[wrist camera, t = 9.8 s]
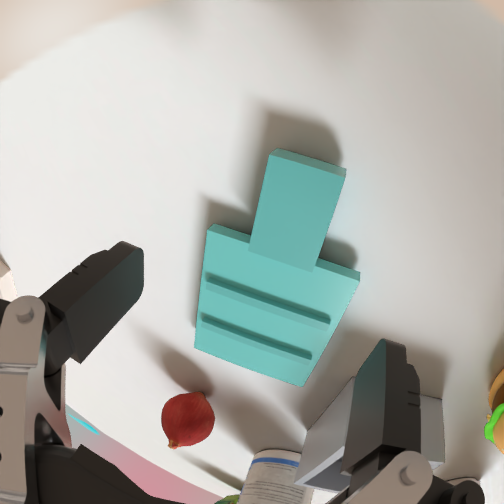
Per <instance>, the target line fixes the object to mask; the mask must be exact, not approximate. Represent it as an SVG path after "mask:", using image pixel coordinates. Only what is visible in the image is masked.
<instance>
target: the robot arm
mask: <svg viewBox="0 0 504 504" xmlns="http://www.w3.org/2000/svg"><path fill="white" fill-rule="evenodd" d="M143 287H144V253H143V250H142V249H141V248H139V247H136V246H134V245H131V244H129V243H127V242H124V241H121V242H119V243H117V244H116V245H115V246H113V247H112V248H111V249H110V250H108V251H107V250H103V251H100V252H98V253H95V254H92V255H90V256H89V257H88V258H87V259H85V260H84V261H83V262H82V263H80V266H79V265H78V266H76V267H75V268H74V269H73V270H72V272H69V273H68V274H67V275H65V276H64V277H63V278H62V279H60V280H59V281H58V282H57V283H56V284H54V285H53V286H52V287H51V288H50V289H48V290H47V291H46V292H45V293H44V294H42V295H41V296H40V297H39V298H37V297H35V296H22V297H19V298H17V299H15V300H13V301H12V302H10V301H7V300H3V299H0V504H184V503H179V502H174V501H170V500H164V499H160V498H156V497H153V496H150V495H148V494H147V493H145V492H144V491H143V490H142V489H141V488H139V487H138V486H137V485H136V484H135V483H134V482H132V481H131V480H130V479H129V478H128V477H127V476H126V475H125V474H123V473H122V472H121V471H120V470H119V469H118V468H117V467H116V466H115V465H113V464H112V463H110V462H108V461H106V460H105V459H103V458H102V457H100V456H99V455H97V454H95V453H94V452H92V451H91V450H89V449H88V448H86V447H85V446H83V445H82V444H81V445H80V446H79V447H78V449H74V448H72V444H71V436H70V431H69V428H68V424H67V421H66V415H65V376H66V365H65V362H66V361H67V360H68V359H69V358H70V357H71V358H72V359H74V360H75V361H77V362H78V363H80V364H81V363H82V362H83V361H84V360H85V358H86V357H87V356H88V355H89V354H90V353H91V352H92V350H93V349H94V348H95V347H96V346H97V345H98V344H99V343H100V341H101V340H102V339H103V338H104V337H105V336H106V335H107V334H108V333H109V331H110V330H111V329H112V328H113V327H114V326H115V325H116V324H117V323H118V321H119V320H120V319H121V318H122V317H123V316H124V315H125V314H126V313H127V312H128V311H129V309H130V308H131V307H132V306H133V305H134V304H135V303H136V302H137V301H138V299H139V298H140V296H141V294H142V291H143ZM419 395H420V383H419V378H418V375H417V373H416V371H415V369H414V366H413V365H410V364H407V360H406V348H405V346H404V345H402V344H399V343H396V342H393V341H390V340H386V339H381V340H380V341H379V343H378V344H377V345H376V347H375V348H374V350H373V351H372V353H371V354H370V355H369V357H368V358H367V360H366V361H365V362H364V364H363V365H362V366H361V368H360V370H359V371H358V374H357V376H356V379H355V382H354V388H353V396H352V404H351V411H350V418H349V425H348V431H347V437H346V443H345V449H344V454H343V459H342V465H341V470H340V474H343V475H348V476H351V480H350V485H348V486H347V487H346V488H344V489H343V490H342V491H341V492H340V493H338V494H337V495H336V496H335V497H333V498H332V499H331V500H330V501H328V502H327V503H326V504H485V497H484V493H483V490H482V488H481V487H480V481H477V480H476V479H475V478H461V479H455V480H451V481H447V482H446V481H444V480H442V479H440V478H438V477H436V476H434V475H433V473H432V468H431V465H430V463H429V462H428V460H427V459H426V458H425V457H424V456H423V455H422V454H421V408H420V406H421V403H420V397H419Z"/></svg>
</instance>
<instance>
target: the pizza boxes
mask: <svg viewBox="0 0 504 504" xmlns="http://www.w3.org/2000/svg"><path fill="white" fill-rule="evenodd" d="M17 298H18V296H17V292H16V288H15V284H14V280H13V276H12V272H11V270H10V269H9V268H8V267H7V266H6V265H5V264H4V263H3V262H2V261H0V299H3V300H7V301H10V302H12V301H13V300H15V299H17Z"/></svg>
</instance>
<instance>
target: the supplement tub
mask: <svg viewBox="0 0 504 504" xmlns="http://www.w3.org/2000/svg"><path fill="white" fill-rule="evenodd" d="M300 458H301V454H299V453H296V452H291V451H286V450H264V451H261V452H258V453H257V454H256V455H255V456H254V458H253V461H252V463H251V466H250V468H249V471H248V474H247V477H246V480H245V482H244V485H243V488H242V490H241V493H240V496H239V498H238V501H237V504H311V500H312V496H313V492H314V488H309V487H305V486H301V485H296V484H293V483H294V479H295V476H296V472H297V469H298V465H299V462H300Z"/></svg>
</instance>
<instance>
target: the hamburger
mask: <svg viewBox="0 0 504 504" xmlns="http://www.w3.org/2000/svg"><path fill="white" fill-rule="evenodd" d="M488 400H489V406H490V408H491V410H492V416H491V415H490V414H487V420H488V423H486V425H485V427H484V435H485V438H486V439H489V440H490V441H491V442H493V443H494V444H495V445H496V446H497V448H498V449H499V450H500V451H501V452H502V454H504V369H503V370H502V371H501V372H500V373H499V375H498V376H497V377H496V379H495V381H494V382H493V385H492V387H491V390H490V393H489V399H488Z"/></svg>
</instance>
